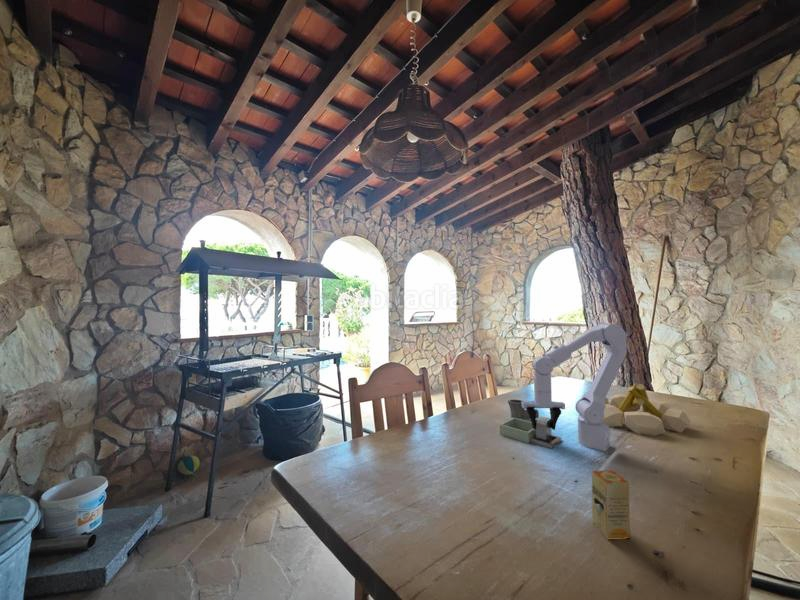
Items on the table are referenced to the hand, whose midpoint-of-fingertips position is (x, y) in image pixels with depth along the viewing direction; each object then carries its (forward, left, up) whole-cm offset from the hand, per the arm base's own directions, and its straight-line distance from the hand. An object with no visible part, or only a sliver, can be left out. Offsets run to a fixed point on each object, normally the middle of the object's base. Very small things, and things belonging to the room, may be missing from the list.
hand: (543, 428), depth 119 cm
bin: (+9, 0, -5) cm, 10 cm away
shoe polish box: (-29, +36, -6) cm, 47 cm away
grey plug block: (0, 0, -4) cm, 4 cm away
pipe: (+17, -19, -6) cm, 27 cm away
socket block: (0, 0, -5) cm, 5 cm away
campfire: (-17, -51, -6) cm, 54 cm away
